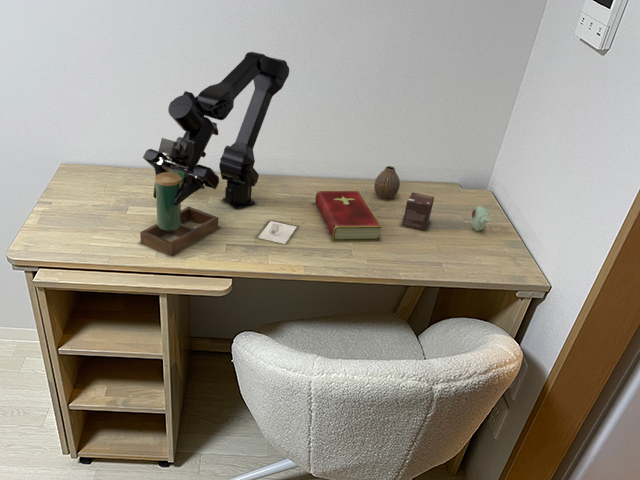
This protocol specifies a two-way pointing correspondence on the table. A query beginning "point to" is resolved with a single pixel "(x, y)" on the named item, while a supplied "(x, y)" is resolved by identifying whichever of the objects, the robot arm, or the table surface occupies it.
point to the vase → (387, 183)
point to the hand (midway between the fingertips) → (164, 201)
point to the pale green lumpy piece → (480, 217)
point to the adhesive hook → (277, 232)
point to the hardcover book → (348, 216)
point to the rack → (180, 232)
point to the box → (418, 211)
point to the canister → (168, 201)
